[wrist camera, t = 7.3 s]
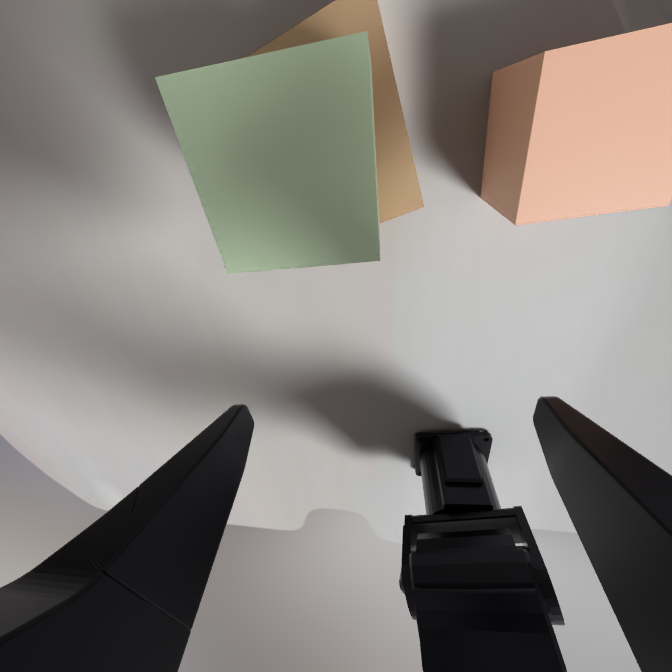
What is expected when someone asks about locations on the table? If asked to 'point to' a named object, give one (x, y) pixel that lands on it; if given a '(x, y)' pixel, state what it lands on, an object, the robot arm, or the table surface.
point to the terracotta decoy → (582, 130)
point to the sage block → (283, 153)
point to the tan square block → (390, 130)
